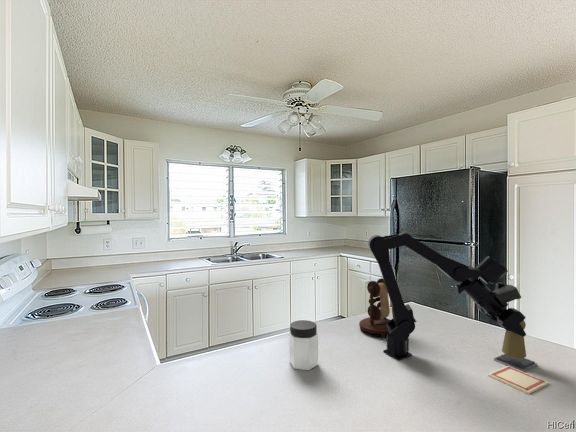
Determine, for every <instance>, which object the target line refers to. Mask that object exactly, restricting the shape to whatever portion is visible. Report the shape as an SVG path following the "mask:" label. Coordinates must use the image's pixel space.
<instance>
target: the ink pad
mask: <svg viewBox="0 0 576 432" xmlns="http://www.w3.org/2000/svg"><path fill="white" fill-rule="evenodd" d="M493 361H494V362H497V363H500V364H502V365H504V366H510V367H512V368H515V369H517V370H520V371H522V372H526V371H528V370H531V369H532V368H535V367H537V366H538V362H535V361H533V360H531V359H528V358H527V357H525V358H516V357H512V356H509V355H506V354H505V353H503V354H502V355H498V356H496V357H494V358H493Z"/></svg>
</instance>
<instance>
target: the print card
mask: <svg viewBox="0 0 576 432" xmlns="http://www.w3.org/2000/svg"><path fill="white" fill-rule="evenodd" d="M487 376H488V377H489V378H492V379H494V380H497V381H498V382H500V383H503V384H505V385H507V386H510V387H512V388H514V389H517V390H518V391H521V392H523V393H525V394H528V395H531V394H533V392H536V391H538V390H540V389H541V388H543V387H546V386H547V385H549V383H550V382H549V381H547V380H545V379H542V378H539V377H537V376H534V375H531V374H530V373H526V371H524V372H522V371H520V370H517V369H515V368H512V367H510V366H507V365H505V366H503V367H501V368H499V369H496V370H494V371H491V372H490V373H487Z"/></svg>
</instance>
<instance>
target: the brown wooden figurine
mask: <svg viewBox="0 0 576 432" xmlns="http://www.w3.org/2000/svg"><path fill="white" fill-rule="evenodd" d="M366 289H367V292H368V293H369V298H368V304H369V306H368V307H367V315H368V317H365V318H363V319H361V320H359V323H358V324H359V325H358V326H359V329H360V331H364V332H366V333H371V334H375V335H381V337H382V338H385V335H388V333H389V330H388V328H387V325H386V324H387V323H388V322H389V321H390V320H391V319H389V318H388V317H389V316H390V313H391V312H390V303H389V302H390V301H389V295H388V292H387V289H386V286H385V283H384V279H383V277H381V278H379V279H377V281H375V280H371V281H368V283H367V286H366ZM377 302H378V303H377ZM375 303H377V304H376V305H375Z"/></svg>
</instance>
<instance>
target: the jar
mask: <svg viewBox="0 0 576 432" xmlns="http://www.w3.org/2000/svg"><path fill="white" fill-rule="evenodd" d="M317 325H318V324H317V323H316V322H314V321H311V320H307V319H306V320H305V319H304V320H302V319H301V320H296V321H295V320H294V321H293V322H291V323H290V325H289V333H288V336H289V337H288V340H289V341H288V342H289V343H288V344H289V345H288V346H289V349H288V350H289V351H288V353H289V355H288V359H289V360H288V361H289V364H291V366H292V368H293V369H295V370H304V371H310V370H312V369H313V368H315V367H316V366H319V334H318V333H317V332H318V331H317V330H318V329H317V328H318V327H317Z"/></svg>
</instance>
